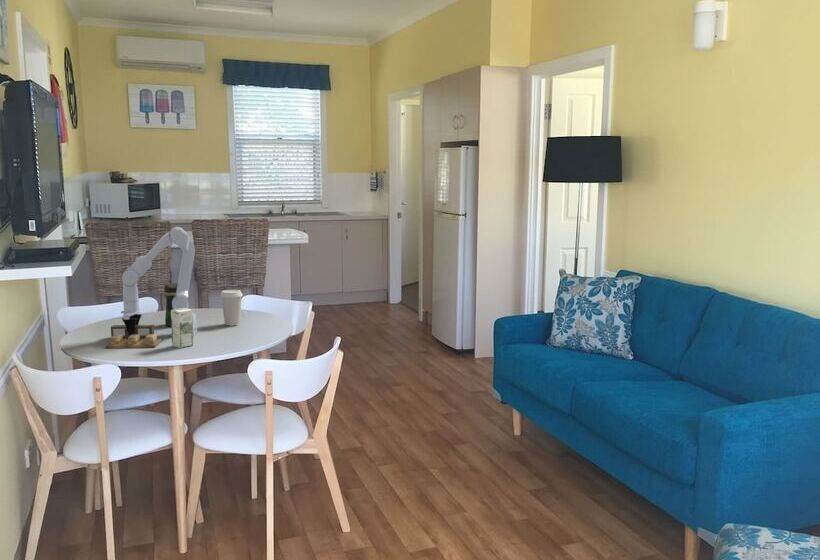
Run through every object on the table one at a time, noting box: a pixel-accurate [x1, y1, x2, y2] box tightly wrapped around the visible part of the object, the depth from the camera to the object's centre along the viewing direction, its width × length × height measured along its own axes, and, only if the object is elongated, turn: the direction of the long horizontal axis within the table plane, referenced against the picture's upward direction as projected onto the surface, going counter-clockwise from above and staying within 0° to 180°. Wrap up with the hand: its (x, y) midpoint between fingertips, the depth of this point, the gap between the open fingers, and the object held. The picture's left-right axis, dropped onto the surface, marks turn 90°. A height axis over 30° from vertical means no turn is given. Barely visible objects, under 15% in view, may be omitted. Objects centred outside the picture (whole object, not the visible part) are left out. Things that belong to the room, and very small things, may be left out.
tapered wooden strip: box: [110, 324, 155, 339], centre depth 277 cm, size 16×3×5 cm, turn 95°
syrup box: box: [170, 308, 194, 349], centre depth 263 cm, size 6×6×14 cm
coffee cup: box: [219, 289, 244, 326], centre depth 301 cm, size 10×10×15 cm
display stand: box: [105, 333, 162, 349], centre depth 265 cm, size 18×10×4 cm, turn 95°
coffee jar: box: [163, 282, 178, 327], centre depth 299 cm, size 10×8×19 cm
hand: (132, 333), depth 277 cm, fingers closed on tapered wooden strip, 3 cm apart
